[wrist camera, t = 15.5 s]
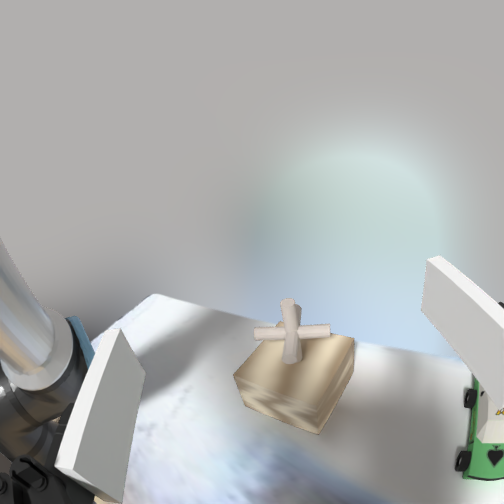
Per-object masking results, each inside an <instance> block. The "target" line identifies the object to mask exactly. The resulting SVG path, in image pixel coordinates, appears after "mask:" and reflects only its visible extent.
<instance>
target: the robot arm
mask: <svg viewBox="0 0 504 504" xmlns="http://www.w3.org/2000/svg"><path fill="white" fill-rule="evenodd" d="M421 311H422V312H423V313H424V315H425V316H426V317H427V318H428V319H429V320H430V322H431V323H432V324H433V325H434V326H435V327H436V329H437V330H438V331H439V332H440V333H441V335H442V336H443V337H444V338H445V339H446V341H447V342H448V343H449V344H450V346H451V347H452V348H453V349H454V351H455V352H456V353H457V354H458V356H459V357H460V358H461V359H462V361H463V362H464V363H465V364H466V366H467V367H468V368H469V370H470V371H471V372H472V374H473V375H474V376H475V378H476V379H477V380H478V382H479V383H480V384H481V386H482V387H483V388H484V390H485V391H486V392H487V394H488V395H489V397H490V398H491V399H492V401H493V402H494V404H495V405H496V407H497V408H498V409H499V411H500V410H501V409H503V408H504V304H503V303H502V302H499V303H496V301H494V300H493V299H492V298H491V297H490V296H489V295H488V294H486V293H485V292H484V291H483V290H482V289H481V288H480V287H478V286H477V285H476V284H475V283H474V282H472V281H471V280H470V279H469V278H467V277H466V276H465V275H464V274H463V273H461V272H460V271H459V270H458V269H457V268H455V267H454V266H453V265H452V264H450V263H449V262H448V261H446V260H445V259H444V258H443V257H441V256H440V255H439V256H436V257H432V258H429V259H427V262H426V272H425V282H424V291H423V298H422V305H421ZM145 376H146V372H145V371H144V369H143V367H142V366H141V364H140V362H139V361H138V359H137V357H136V356H135V354H134V352H133V350H132V349H131V347H130V345H129V343H128V341H127V340H126V338H125V336H124V334H123V332H122V330H121V328H119V329H113V330H106V331H105V333H104V335H103V337H102V339H101V342H100V344H99V346H98V348H97V351H96V353H95V352H94V350H93V348H92V345H91V343H90V341H89V339H88V337H87V335H86V332H85V330H84V328H83V325H82V323H81V321H80V319H79V318H78V317H77V316H72V317H68V318H64V317H63V316H62V315H61V314H60V313H58V312H57V311H55V310H53V309H50V308H44V307H42V306H41V304H40V303H39V301H38V300H37V298H36V297H35V295H34V294H33V293H32V291H31V290H30V288H29V286H28V285H27V283H26V282H25V280H24V278H23V277H22V275H21V274H20V272H19V271H18V269H17V267H16V265H15V264H14V262H13V260H12V258H11V257H10V255H9V253H8V251H7V250H6V248H5V246H4V244H3V242H2V240H1V238H0V453H2V454H3V455H4V456H5V457H6V458H8V459H9V460H10V461H11V463H12V464H11V467H10V476H9V475H8V474H6V473H0V504H96V502H95V501H94V496H97V497H99V498H100V499H102V500H103V501H107V502H114V503H121V504H122V502H123V495H124V487H125V480H126V474H127V468H128V461H129V455H130V450H131V444H132V439H133V433H134V428H135V423H136V418H137V413H138V408H139V403H140V399H141V394H142V389H143V385H144V380H145ZM60 416H61V418H60V421H59V423H56V422H54V421H52V420H54V419H56V418H58V417H60Z"/></svg>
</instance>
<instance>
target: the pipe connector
mask: <svg viewBox="0 0 504 504" xmlns="http://www.w3.org/2000/svg"><path fill="white" fill-rule="evenodd" d="M280 305H281V311H282V316H283V322H284V326H282V327H255V328H254V339H255V340H285V341H284V347H283V354H282V361H283V362H284V363H286V364H294V363H297V362H300V361H301V360H302V350H301V343H300V339H309V338H326V337H330V324H320V325H303V326H300V320H301V307H300V306H299V305H297V304H295V301H294V299H291V298H286V299H284V300H282V301H281V302H280Z"/></svg>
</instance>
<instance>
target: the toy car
mask: <svg viewBox="0 0 504 504" xmlns="http://www.w3.org/2000/svg"><path fill="white" fill-rule="evenodd" d="M464 407H465V408H472V418H471V428H470V437H469V445H468V451H461V452H460V454H459V456H458V458H457V462H456V467H455V470H456V471H464V474H463V479H476V480H484V481H494V480H500V479H504V408H503V409H501V410H500V411H499V409H498V408H497V407H496V405H495V404H494V402H493V401H492V399H491V398H490V397H489V395H488V394H487V392H486V391H485V390H484V388H483V387H482V386H481V384H480V383H479V382H478V380H477V379H476V378H475V384H474V389H469V390H468V391H467V393H466V396H465V404H464Z"/></svg>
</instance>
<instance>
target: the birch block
mask: <svg viewBox="0 0 504 504" xmlns="http://www.w3.org/2000/svg"><path fill="white" fill-rule="evenodd" d="M282 326H284V322H281V321H280V322H279V323H278V324H277V325H276V326H275V327H282ZM284 341H285V340H263V342H262V343H261V344H260V345H259V346H258V347H257V349H256V350H255V351H254V352H253V353H252V354H251V355H250V357H249V358H248V359H247V360H246V361H245V362H244V363H243V364H242V366H241V367H240V368H239V369H238V370H237V371H236V372H235V373H234V374H233V376H234V379H235V381H236V384H237V386H238V389H239V392H240V394H241V397H242V399H243V402H244V404H245V406H247V407H249V408H251V409H254V410H256V411H258V412H261V413H263V414H265V415H268V416H270V417H272V418H275V419H277V420H280V421H282V422H285V423H288V424H290V425H293V426H295V427H298V428H301V429H304V430H306V431H309V432H312V433H315V434H318V435H319V433H320V432H321V430H322V428H323V427H324V425H325V423H326V422H327V420H328V418H329V416H330V415H331V413H332V411H333V409H334V408H335V406H336V404H337V402H338V400H339V399H340V397H341V395H342V393H343V391H344V389H345V387H346V385H347V383H348V382H349V380H350V378H351V376H352V374H353V365H354V338H351V337H346V336H342V335H336V334H332V333H330V337H326V338H309V339H300V343H301V350H302V360H301V361H300V362H297V363H294V364H286V363H284V362H283V361H282V354H283V347H284Z"/></svg>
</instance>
